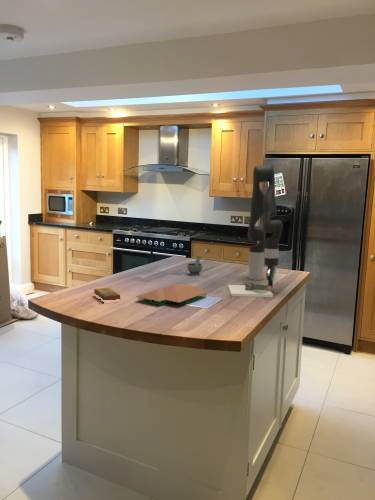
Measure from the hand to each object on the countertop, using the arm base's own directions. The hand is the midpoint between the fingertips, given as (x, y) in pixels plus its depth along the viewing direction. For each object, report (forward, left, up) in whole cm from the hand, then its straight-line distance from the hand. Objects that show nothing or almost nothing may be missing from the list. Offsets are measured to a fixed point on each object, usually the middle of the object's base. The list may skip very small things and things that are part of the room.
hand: (270, 287), depth 235 cm
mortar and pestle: (-42, -41, -3) cm, 59 cm away
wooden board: (+18, -53, -4) cm, 56 cm away
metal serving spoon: (+1, -7, -1) cm, 7 cm away
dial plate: (+1, -12, -3) cm, 12 cm away
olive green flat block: (+21, -86, -3) cm, 89 cm away
